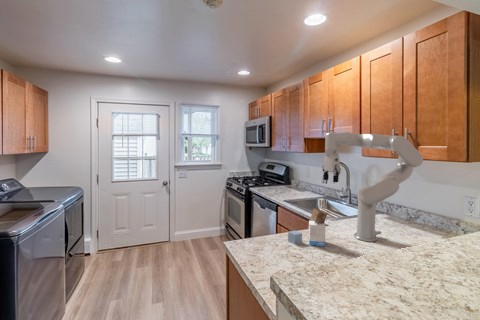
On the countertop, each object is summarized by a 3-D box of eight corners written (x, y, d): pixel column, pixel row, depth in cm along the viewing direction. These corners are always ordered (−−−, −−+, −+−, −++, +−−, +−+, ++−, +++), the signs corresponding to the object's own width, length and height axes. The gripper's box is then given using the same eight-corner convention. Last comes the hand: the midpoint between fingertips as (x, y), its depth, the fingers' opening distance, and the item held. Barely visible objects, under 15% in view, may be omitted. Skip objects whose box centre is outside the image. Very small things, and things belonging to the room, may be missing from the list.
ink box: (325, 246, 135) (326, 222, 134) (309, 245, 137) (309, 221, 136) (323, 240, 144) (324, 218, 143) (308, 239, 145) (308, 217, 145)
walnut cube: (319, 219, 143) (322, 210, 142) (323, 223, 138) (327, 214, 137) (310, 217, 142) (314, 208, 141) (315, 221, 137) (318, 212, 136)
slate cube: (295, 239, 146) (295, 230, 145) (301, 242, 141) (302, 233, 141) (287, 241, 143) (288, 231, 143) (294, 244, 138) (294, 234, 138)
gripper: (346, 153, 143) (345, 183, 144) (328, 152, 160) (327, 178, 161) (335, 153, 141) (334, 183, 142) (318, 152, 158) (317, 179, 159)
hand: (330, 181), depth 152 cm, fingers open, 9 cm apart
